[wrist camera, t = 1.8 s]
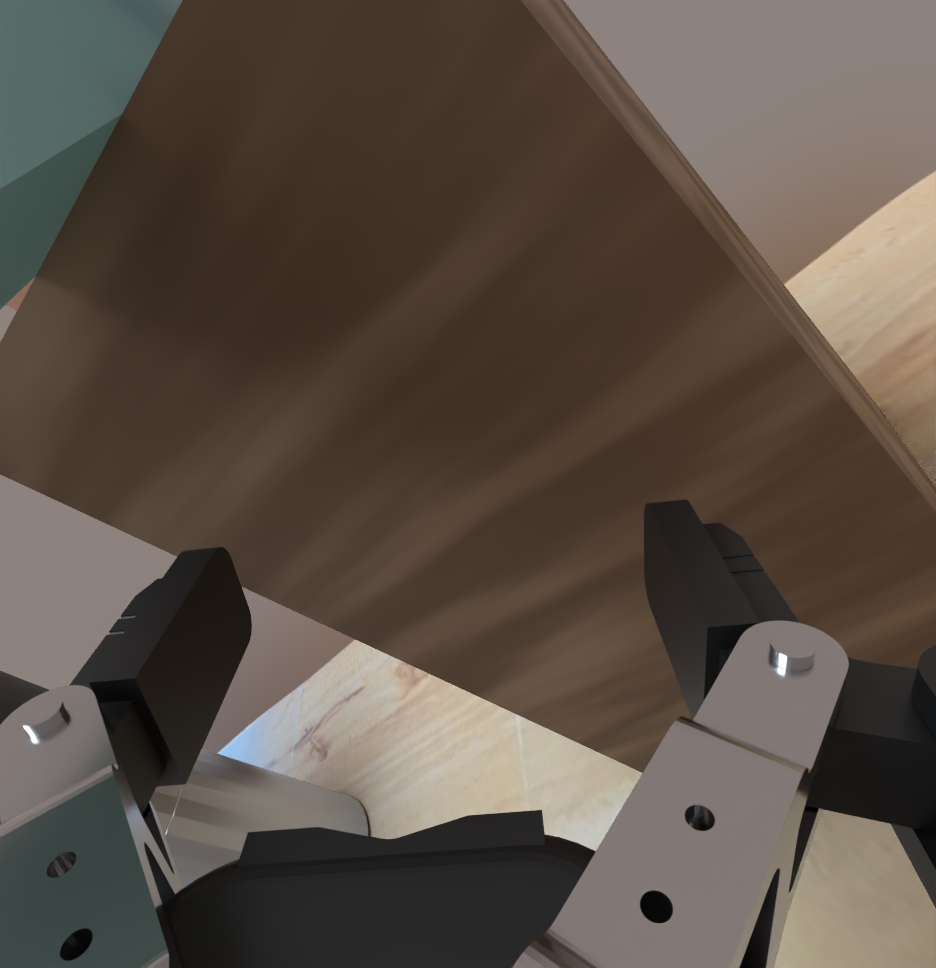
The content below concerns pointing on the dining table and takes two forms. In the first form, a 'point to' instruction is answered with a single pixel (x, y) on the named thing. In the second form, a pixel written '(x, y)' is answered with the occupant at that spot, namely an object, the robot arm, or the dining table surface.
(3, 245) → the teal bar
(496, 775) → the dining table surface
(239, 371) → the walnut stand
